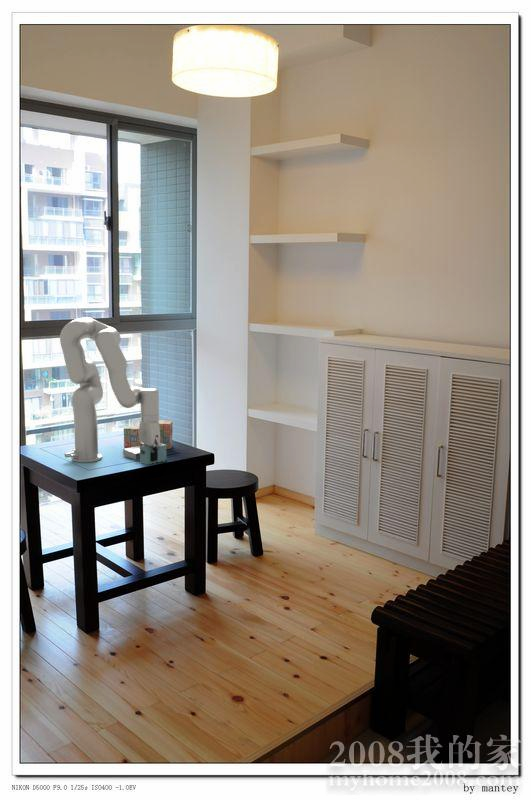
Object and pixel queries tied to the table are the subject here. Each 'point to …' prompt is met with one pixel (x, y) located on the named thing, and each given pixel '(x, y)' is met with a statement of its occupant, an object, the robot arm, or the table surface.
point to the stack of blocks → (133, 435)
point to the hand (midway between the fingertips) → (150, 459)
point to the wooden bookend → (132, 452)
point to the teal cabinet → (146, 454)
